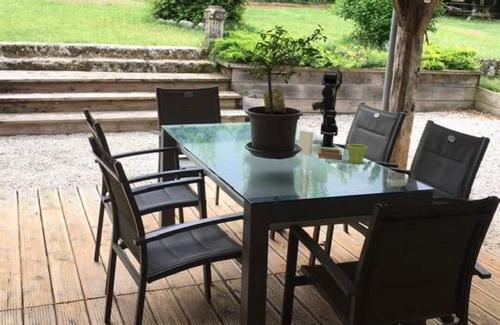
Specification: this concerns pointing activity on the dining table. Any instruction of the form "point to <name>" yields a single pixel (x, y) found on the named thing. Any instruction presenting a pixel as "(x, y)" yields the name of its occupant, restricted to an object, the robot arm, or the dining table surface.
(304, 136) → the cream rectangular block
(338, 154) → the box
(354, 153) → the plant pot
